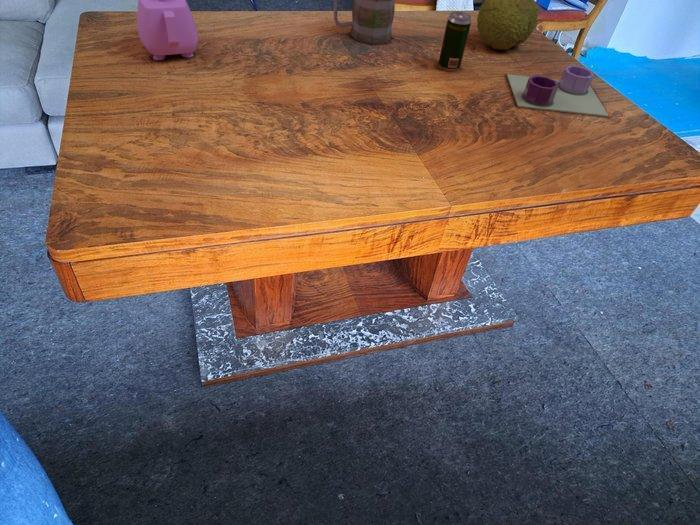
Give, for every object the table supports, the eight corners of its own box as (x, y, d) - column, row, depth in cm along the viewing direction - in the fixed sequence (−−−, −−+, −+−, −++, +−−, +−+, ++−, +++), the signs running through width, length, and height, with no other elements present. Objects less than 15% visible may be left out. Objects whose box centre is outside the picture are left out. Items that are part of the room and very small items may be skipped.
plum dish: (548, 94, 116) (554, 77, 113) (554, 107, 112) (561, 89, 109) (521, 91, 116) (527, 74, 113) (526, 104, 111) (532, 86, 109)
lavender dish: (582, 83, 122) (589, 67, 119) (589, 95, 117) (596, 78, 115) (556, 80, 122) (562, 64, 119) (562, 92, 117) (569, 75, 115)
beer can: (463, 71, 122) (476, 19, 114) (443, 72, 121) (454, 19, 112) (454, 62, 126) (466, 10, 117) (434, 63, 124) (444, 11, 116)
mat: (588, 84, 123) (589, 82, 123) (608, 117, 111) (609, 115, 111) (506, 75, 123) (507, 73, 122) (517, 107, 111) (518, 104, 111)
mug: (389, 30, 137) (396, -19, 129) (392, 46, 130) (399, -5, 121) (331, 25, 136) (334, -25, 128) (331, 41, 129) (334, -11, 120)
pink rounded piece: (208, 65, 112) (201, 4, 104) (149, 71, 108) (136, 8, 99) (189, 31, 125) (181, -26, 116) (135, 35, 121) (123, -24, 112)
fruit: (528, 63, 129) (517, 7, 119) (476, 66, 138) (461, 14, 127) (549, 25, 135) (541, -31, 125) (498, 31, 144) (486, -22, 134)
